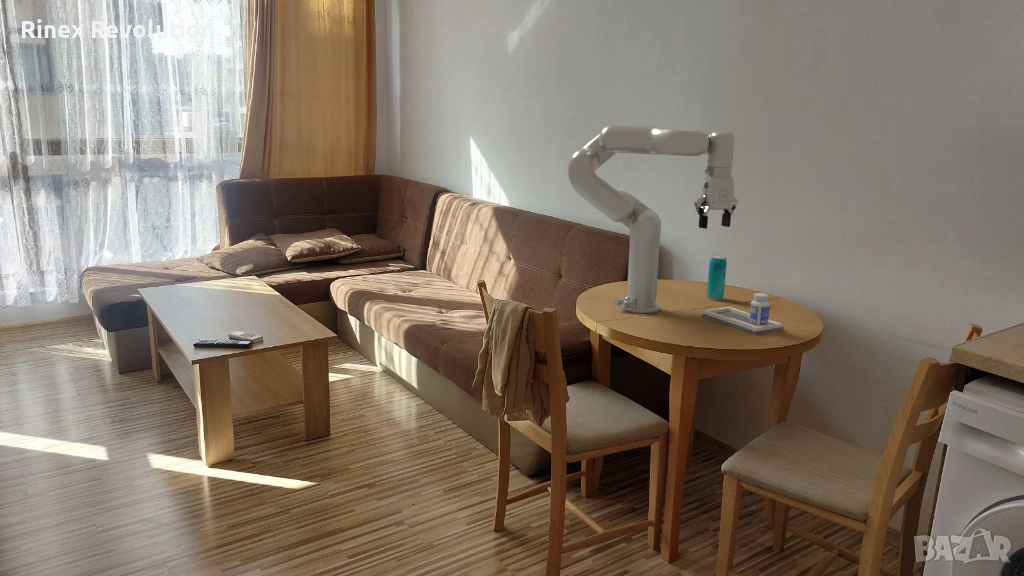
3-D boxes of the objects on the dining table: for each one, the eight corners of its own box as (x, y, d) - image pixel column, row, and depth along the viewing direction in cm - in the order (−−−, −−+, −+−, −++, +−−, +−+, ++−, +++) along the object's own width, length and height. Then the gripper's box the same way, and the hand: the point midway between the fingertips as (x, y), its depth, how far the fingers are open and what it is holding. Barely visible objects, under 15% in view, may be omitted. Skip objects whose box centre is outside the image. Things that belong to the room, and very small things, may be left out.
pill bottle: (767, 324, 227) (771, 293, 225) (767, 329, 222) (770, 297, 220) (749, 322, 229) (752, 291, 227) (748, 327, 224) (751, 295, 222)
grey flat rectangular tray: (754, 334, 220) (755, 328, 219) (702, 316, 238) (702, 310, 238) (783, 329, 225) (783, 323, 225) (729, 312, 244) (730, 306, 244)
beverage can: (725, 301, 259) (729, 258, 256) (708, 300, 259) (712, 258, 256) (721, 297, 265) (724, 255, 261) (704, 296, 265) (708, 255, 261)
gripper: (706, 174, 224) (702, 230, 228) (748, 173, 232) (743, 227, 236) (689, 172, 230) (685, 227, 234) (730, 171, 239) (725, 224, 243)
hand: (714, 227), depth 235 cm, fingers open, 9 cm apart
